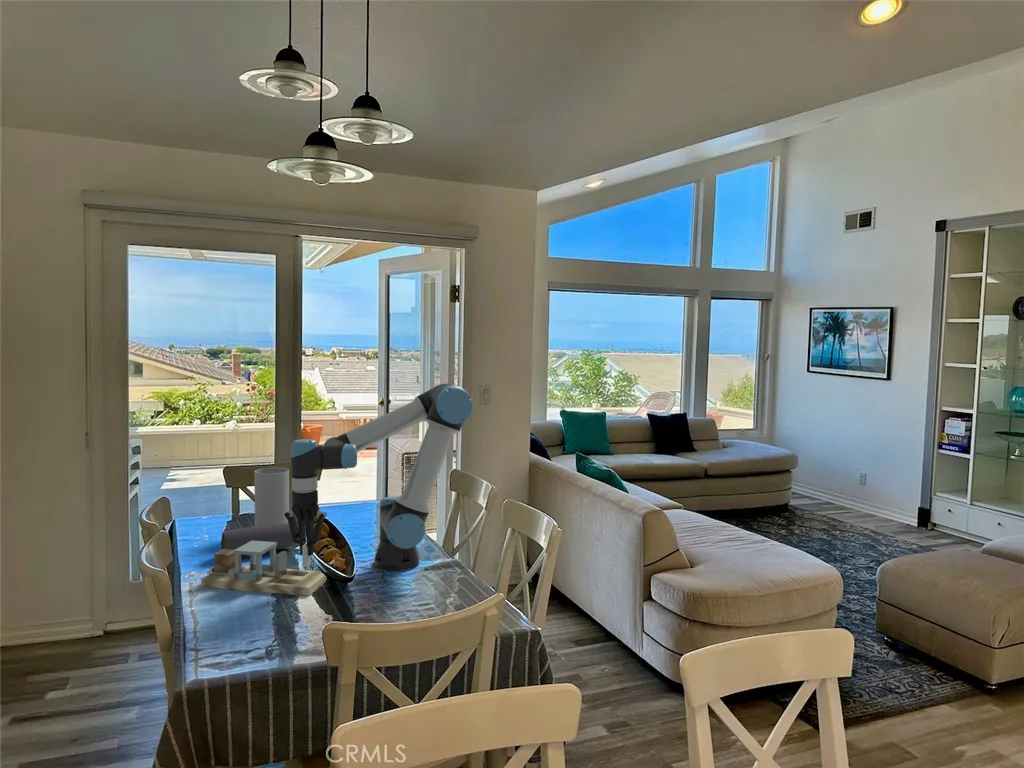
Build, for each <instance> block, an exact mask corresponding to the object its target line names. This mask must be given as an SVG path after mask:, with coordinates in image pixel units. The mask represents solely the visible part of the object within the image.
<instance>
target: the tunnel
mask: <svg viewBox="0 0 1024 768" xmlns="http://www.w3.org/2000/svg"><path fill="white" fill-rule="evenodd" d="M276 546H277V542H266V541H250V542H248V543H246V544H245V545H243V546H241V547H239V548H237V549H235V550H234V554H235V579H238V580H251V581H261V580H262V571H270V572H274V556H275V555H277V550H276ZM269 550H270V553H269V562H268V563H266V562H263V555H264V554H263V553H265V552H267V551H269ZM241 554H246V555H250V557H249V566H250V570H256V573H255V572H242V571H241V564H242V555H241ZM262 554H263V555H262Z"/></svg>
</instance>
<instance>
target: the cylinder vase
mask: <svg viewBox="0 0 1024 768" xmlns="http://www.w3.org/2000/svg"><path fill="white" fill-rule="evenodd" d="M289 491H290V469H289V468H287V467H264V468H258V469H256V470H254V526H261V525H270V524H281V523H288V520H287V518H286V517H285V515H284V514H285V513H286V512H288V511H290V492H289Z"/></svg>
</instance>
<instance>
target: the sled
mask: <svg viewBox="0 0 1024 768" xmlns="http://www.w3.org/2000/svg"><path fill="white" fill-rule="evenodd" d="M242 565H243V563H241V571H242V572H255V573H256V571H254V570H245V567H242ZM287 569H288V551H286V550H282V551H280V552H278V553H276V555H275V556H274V572H267V571H262V575H265V576H274V578H275V579H280V578H281V577H282V576H284V575H285V574H287ZM206 574H207V575H209V574H211V575H224V576H235V567H233V568H231V569H230V570H229V572H217V571H214V565H213V566H212V567H210V568H209V570H207V571H206Z"/></svg>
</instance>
